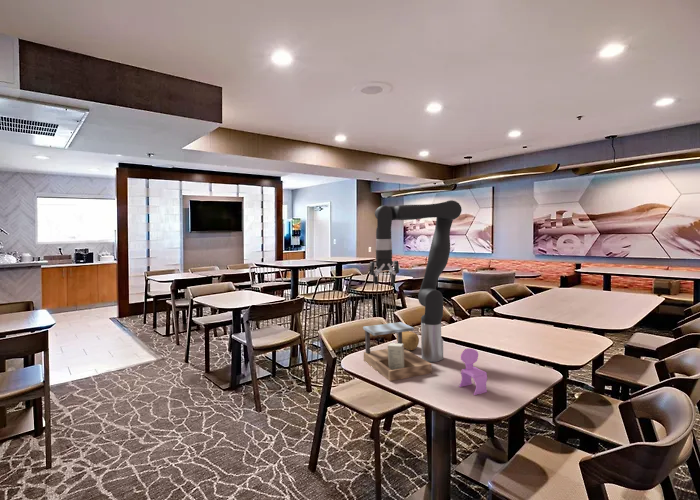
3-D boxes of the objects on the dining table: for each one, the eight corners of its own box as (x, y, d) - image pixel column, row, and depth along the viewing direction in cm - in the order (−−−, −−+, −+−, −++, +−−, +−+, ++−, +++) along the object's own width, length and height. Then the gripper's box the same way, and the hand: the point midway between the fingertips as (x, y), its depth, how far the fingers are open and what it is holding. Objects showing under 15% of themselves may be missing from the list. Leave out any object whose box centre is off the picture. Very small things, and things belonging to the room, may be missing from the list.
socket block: (401, 354, 181) (400, 321, 180) (431, 373, 157) (431, 335, 156) (363, 360, 174) (363, 326, 173) (389, 381, 150) (389, 341, 149)
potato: (408, 343, 199) (408, 326, 199) (423, 352, 184) (423, 333, 184) (394, 345, 196) (393, 327, 196) (407, 354, 182) (407, 335, 181)
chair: (472, 396, 134) (472, 355, 134) (456, 387, 142) (456, 349, 142) (490, 392, 138) (490, 352, 137) (473, 383, 146) (473, 345, 145)
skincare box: (404, 371, 160) (404, 343, 159) (402, 375, 155) (402, 346, 155) (390, 369, 162) (389, 342, 161) (387, 373, 158) (387, 345, 157)
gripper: (393, 248, 178) (394, 281, 179) (366, 249, 173) (367, 283, 174) (401, 248, 171) (401, 283, 172) (373, 249, 166) (374, 285, 167)
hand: (384, 283), depth 173 cm, fingers open, 8 cm apart
